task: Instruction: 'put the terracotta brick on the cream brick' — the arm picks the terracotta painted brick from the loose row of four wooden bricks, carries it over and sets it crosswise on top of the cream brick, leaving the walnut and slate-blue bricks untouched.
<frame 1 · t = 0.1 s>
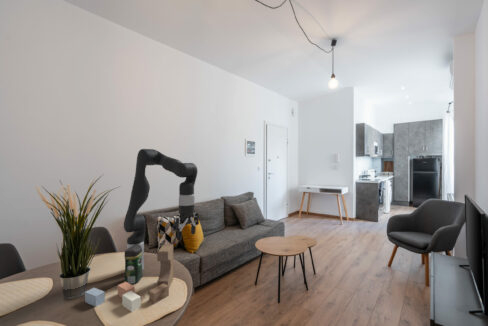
hand: (186, 236, 112), 29 cm above the table, fingers open, 8 cm apart
terracotta brick: (126, 296, 112), on the table
decorative block: (165, 285, 122), on the table
walnut brick: (159, 298, 110), on the table
coffee jar: (133, 280, 127), on the table
slate brick: (94, 302, 107), on the table
cream brick: (131, 306, 104), on the table
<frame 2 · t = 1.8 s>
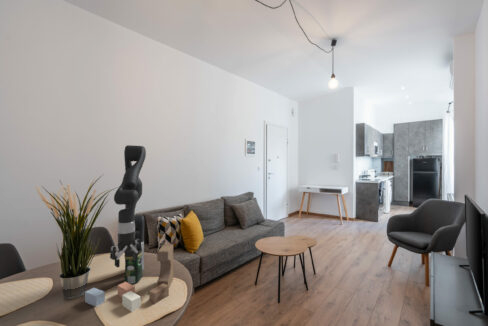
hand: (126, 263, 112), 16 cm above the table, fingers open, 8 cm apart
nothing on the table moved.
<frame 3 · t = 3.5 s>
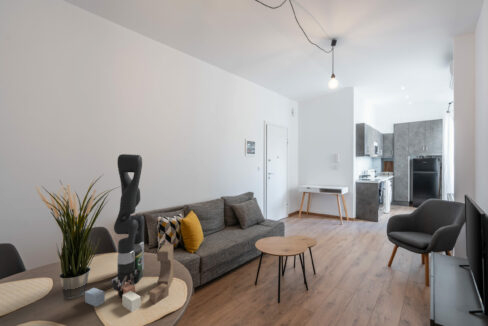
hand: (126, 294, 112), 0 cm above the table, fingers closed on terracotta brick, 4 cm apart
terracotta brick: (126, 296, 112), on the table, touching gripper
everything else where it was.
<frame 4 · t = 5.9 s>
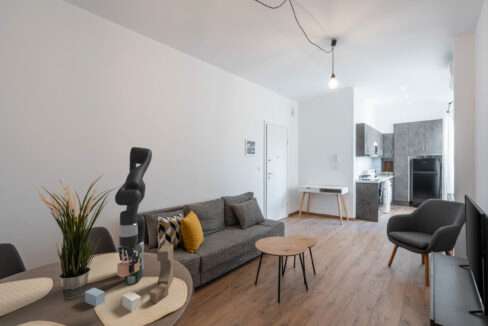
hand: (128, 271, 104), 16 cm above the table, fingers closed on terracotta brick, 4 cm apart
terracotta brick: (128, 272, 103), point 16 cm above the table, touching gripper
everything else where it was.
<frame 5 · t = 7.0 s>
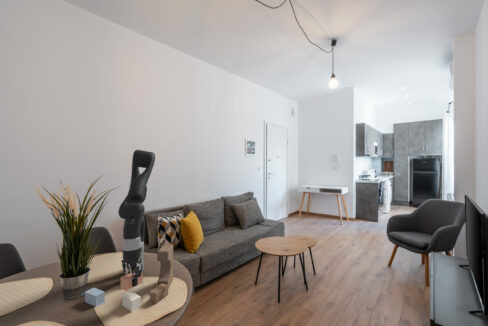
hand: (131, 284, 104), 10 cm above the table, fingers closed on terracotta brick, 4 cm apart
terracotta brick: (131, 285, 104), point 9 cm above the table, touching gripper
everything else where it was.
when the fingers open (6 cm above the table, at t = 8.0 s): terracotta brick stays where it is, resting on cream brick.
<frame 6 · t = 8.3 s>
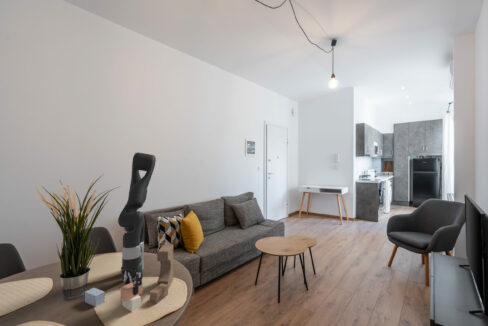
hand: (131, 291, 104), 7 cm above the table, fingers open, 6 cm apart
terracotta brick: (131, 295, 104), point 5 cm above the table, touching cream brick
cream brick: (131, 306, 104), on the table, touching terracotta brick
everything else where it was.
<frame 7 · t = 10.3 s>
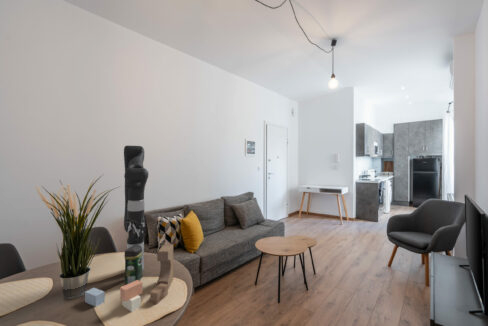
hand: (135, 241, 113), 26 cm above the table, fingers open, 8 cm apart
nothing on the table moved.
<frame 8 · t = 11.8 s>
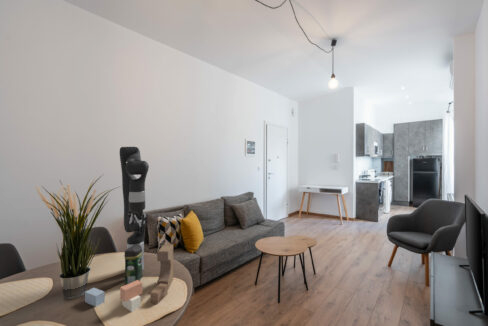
hand: (137, 232, 115), 30 cm above the table, fingers open, 8 cm apart
nothing on the table moved.
at the end: terracotta brick 0.1 cm off-centre on the cream brick, point 5.0 cm above the cream brick's base; walnut brick moved 0.2 cm from its start; slate brick moved 0.2 cm from its start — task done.
